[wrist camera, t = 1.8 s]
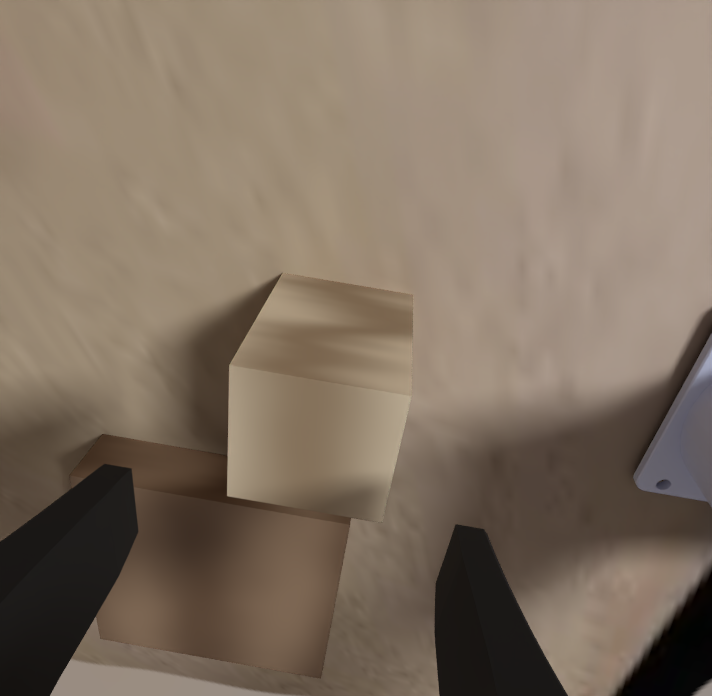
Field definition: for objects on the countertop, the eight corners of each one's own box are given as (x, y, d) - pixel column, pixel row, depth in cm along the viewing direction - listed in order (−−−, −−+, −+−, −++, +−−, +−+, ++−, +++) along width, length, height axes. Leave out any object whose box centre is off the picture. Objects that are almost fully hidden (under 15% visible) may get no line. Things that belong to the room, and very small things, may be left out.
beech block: (413, 294, 18) (411, 395, 13) (390, 400, 20) (381, 522, 15) (283, 272, 18) (229, 364, 13) (275, 380, 20) (226, 495, 15)
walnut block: (357, 470, 23) (349, 524, 20) (329, 620, 28) (320, 678, 26) (108, 427, 23) (68, 475, 20) (128, 584, 29) (100, 638, 26)
